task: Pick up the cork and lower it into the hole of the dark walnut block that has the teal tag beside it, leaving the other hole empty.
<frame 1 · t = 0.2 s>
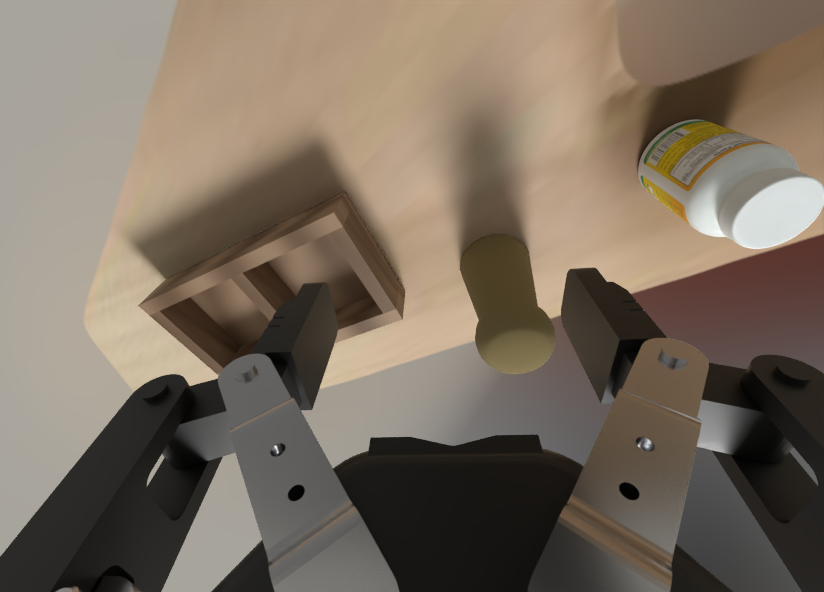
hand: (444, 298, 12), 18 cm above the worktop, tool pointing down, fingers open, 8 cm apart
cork: (494, 264, 32), on the worktop
socket block: (284, 285, 34), on the worktop
supplement bottle: (674, 158, 26), on the worktop
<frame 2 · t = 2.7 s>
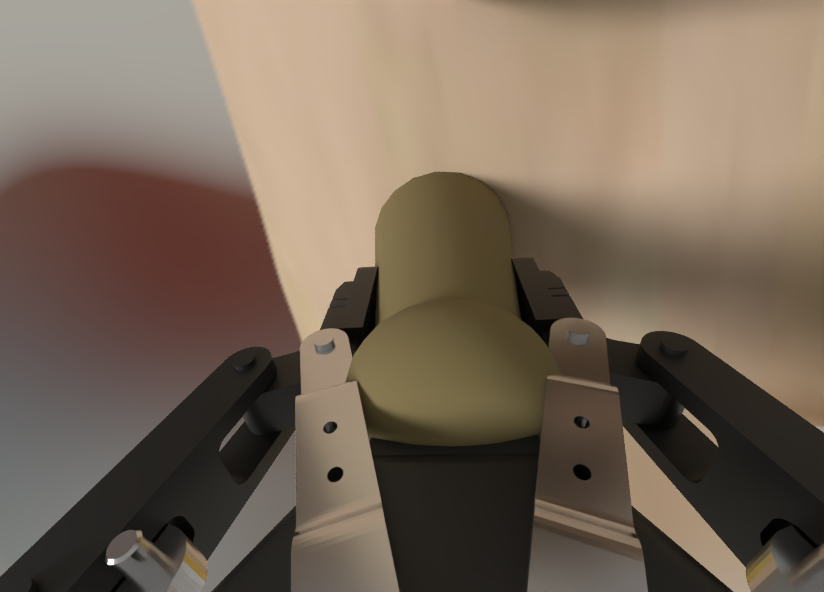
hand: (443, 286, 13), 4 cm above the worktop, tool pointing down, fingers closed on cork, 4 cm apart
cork: (441, 238, 16), on the worktop, touching gripper
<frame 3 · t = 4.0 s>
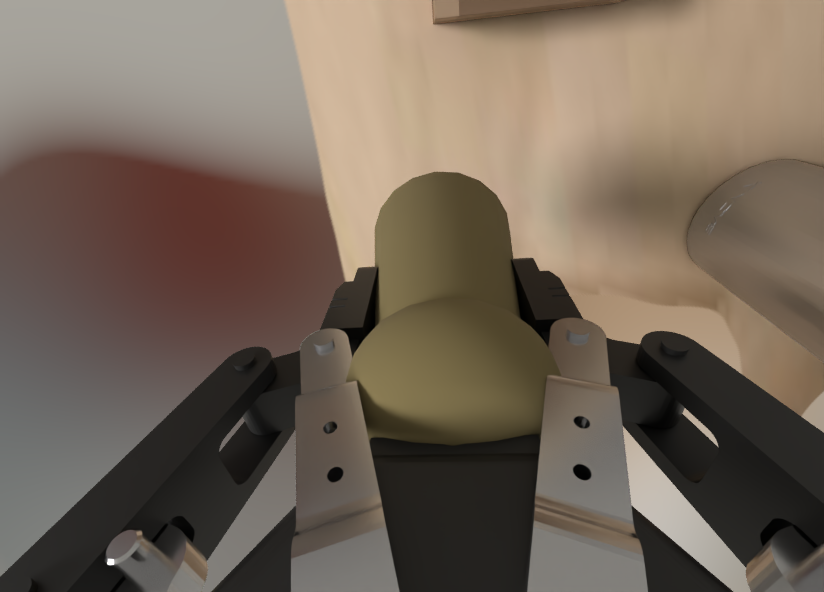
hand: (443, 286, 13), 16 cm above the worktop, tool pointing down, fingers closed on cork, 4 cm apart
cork: (441, 238, 16), point 12 cm above the worktop, touching gripper
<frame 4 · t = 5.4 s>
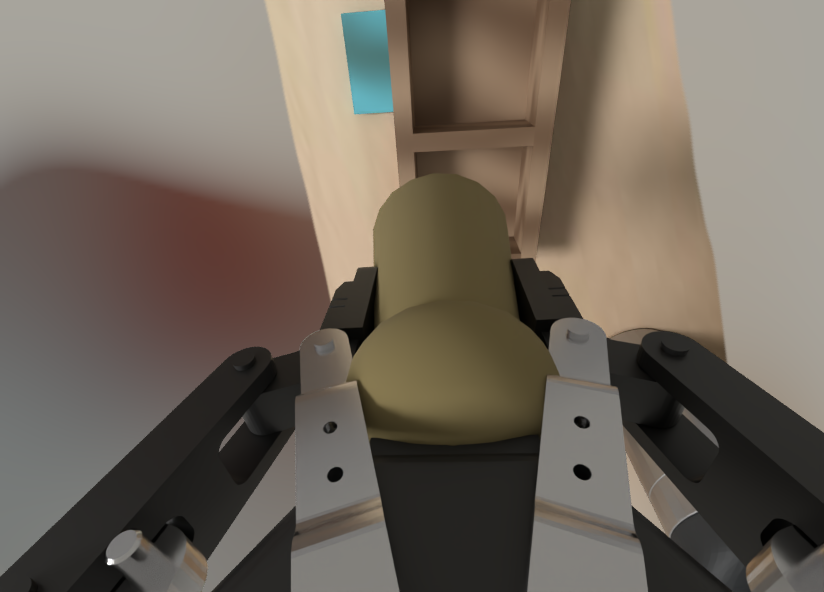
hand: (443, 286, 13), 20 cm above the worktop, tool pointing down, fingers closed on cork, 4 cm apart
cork: (439, 239, 16), point 16 cm above the worktop, touching gripper
socket block: (468, 130, 28), on the worktop
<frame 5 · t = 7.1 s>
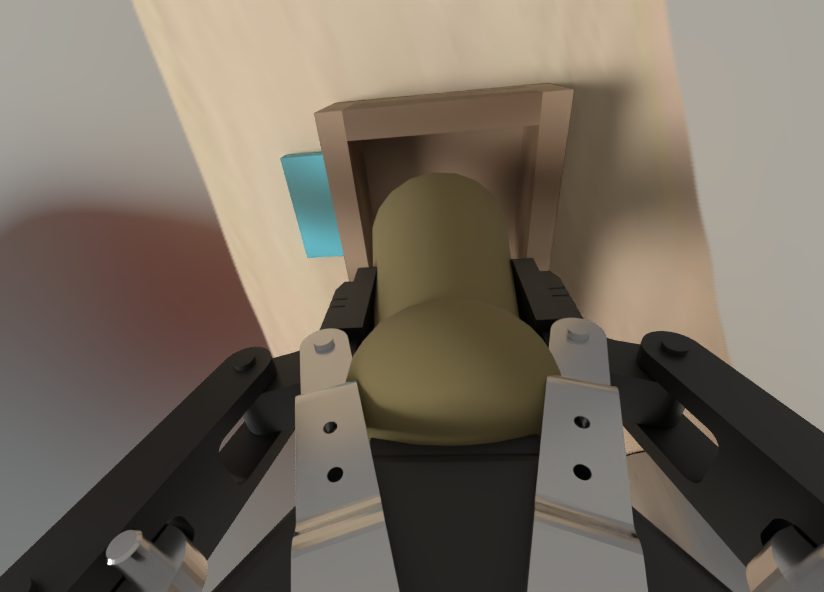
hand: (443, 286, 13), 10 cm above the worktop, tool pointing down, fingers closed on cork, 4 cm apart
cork: (439, 238, 16), point 6 cm above the worktop, touching gripper
socket block: (445, 268, 24), on the worktop
when the fingers open (5 cm above the worktop, at t = 8.5 s): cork stays where it is, resting on socket block.
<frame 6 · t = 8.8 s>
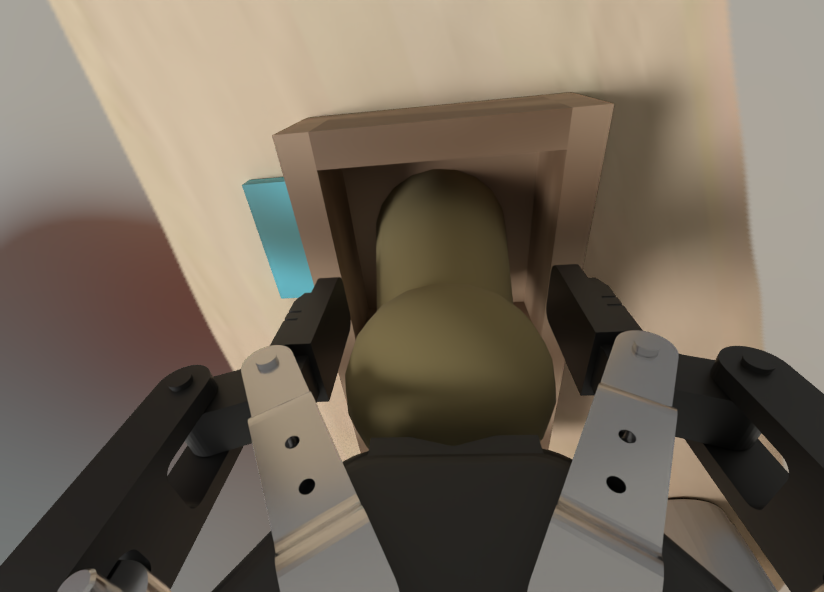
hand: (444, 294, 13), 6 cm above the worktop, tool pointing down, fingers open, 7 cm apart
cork: (439, 232, 17), resting on socket block
socket block: (445, 307, 20), on the worktop
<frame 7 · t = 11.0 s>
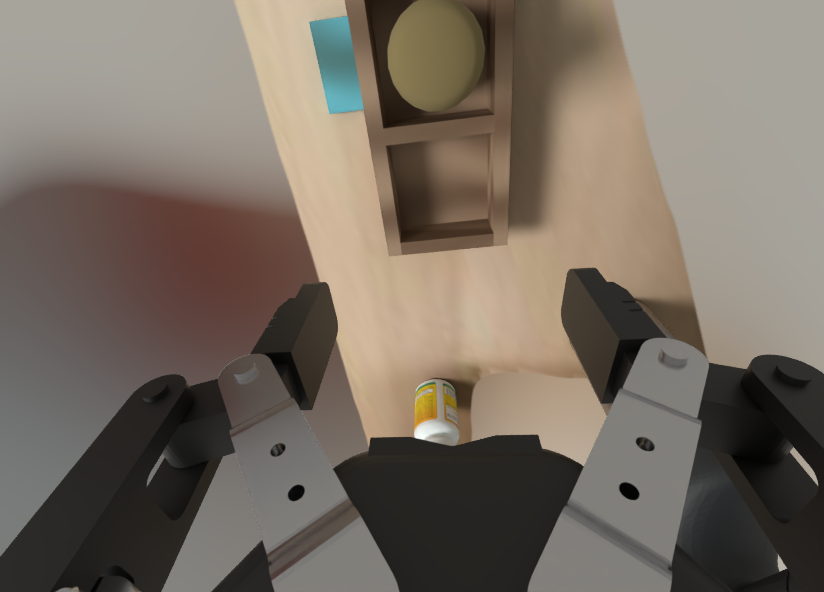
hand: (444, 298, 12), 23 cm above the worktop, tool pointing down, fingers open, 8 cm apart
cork: (431, 55, 27), resting on socket block
socket block: (436, 121, 30), on the worktop
supplement bottle: (434, 390, 49), on the worktop
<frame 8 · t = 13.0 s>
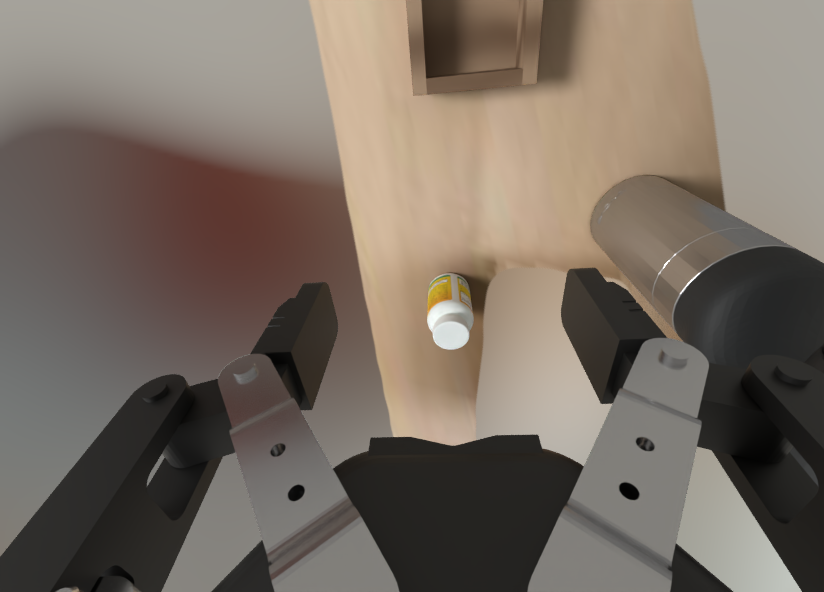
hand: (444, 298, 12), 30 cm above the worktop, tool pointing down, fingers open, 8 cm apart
supplement bottle: (448, 288, 48), on the worktop
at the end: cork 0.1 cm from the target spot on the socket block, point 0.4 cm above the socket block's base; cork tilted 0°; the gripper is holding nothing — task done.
